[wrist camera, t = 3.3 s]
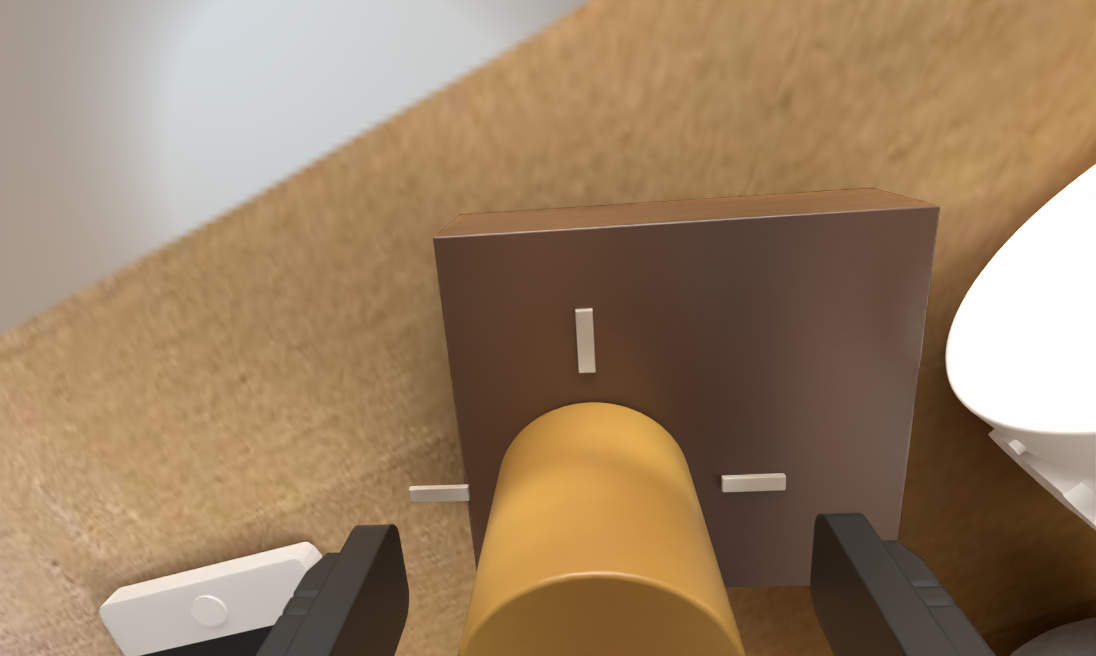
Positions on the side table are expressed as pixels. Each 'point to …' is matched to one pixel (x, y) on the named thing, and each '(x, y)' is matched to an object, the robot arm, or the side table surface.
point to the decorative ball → (1063, 641)
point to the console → (703, 351)
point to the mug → (1038, 347)
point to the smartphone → (208, 606)
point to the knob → (597, 546)
